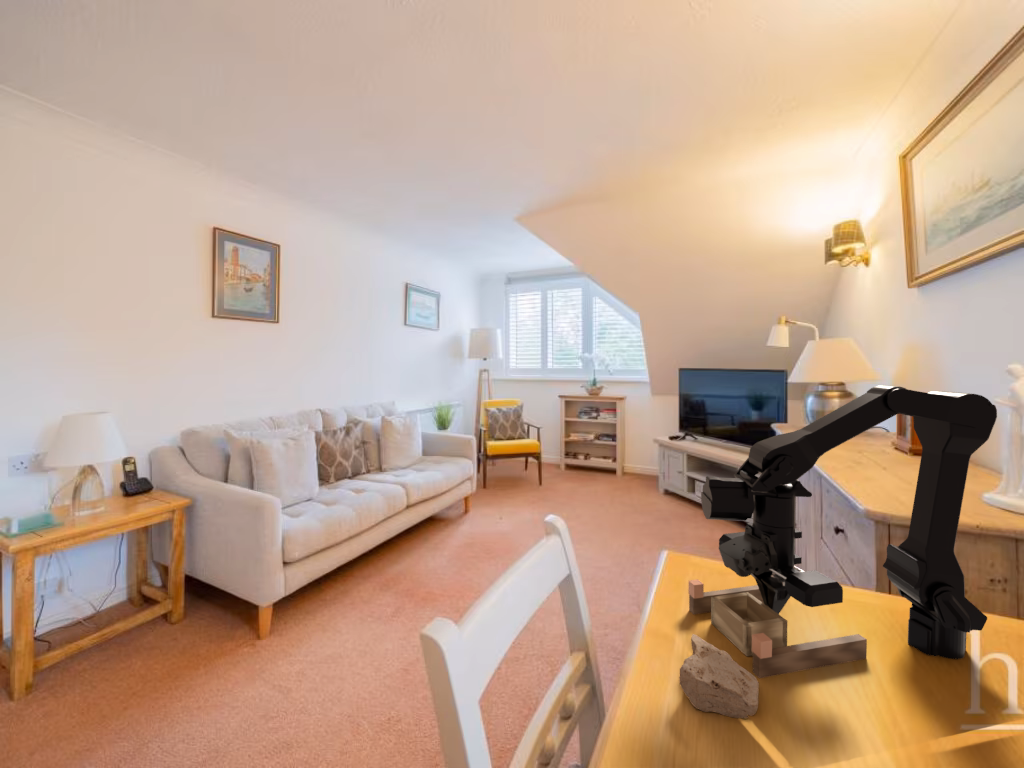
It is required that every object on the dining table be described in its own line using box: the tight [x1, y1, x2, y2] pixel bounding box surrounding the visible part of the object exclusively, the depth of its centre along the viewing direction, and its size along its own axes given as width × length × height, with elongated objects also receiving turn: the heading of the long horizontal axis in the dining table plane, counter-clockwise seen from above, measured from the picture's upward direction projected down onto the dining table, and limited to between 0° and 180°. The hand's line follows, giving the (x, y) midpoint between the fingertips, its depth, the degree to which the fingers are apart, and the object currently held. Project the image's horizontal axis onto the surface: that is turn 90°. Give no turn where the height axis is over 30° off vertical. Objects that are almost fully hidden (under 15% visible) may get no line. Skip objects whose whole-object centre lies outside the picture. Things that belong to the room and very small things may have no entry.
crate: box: [710, 592, 788, 657], centre depth 66 cm, size 7×8×4 cm
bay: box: [688, 579, 868, 679], centre depth 66 cm, size 18×16×6 cm
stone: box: [678, 633, 760, 719], centre depth 56 cm, size 9×11×5 cm
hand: (772, 615), depth 66 cm, fingers closed, pressing on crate
